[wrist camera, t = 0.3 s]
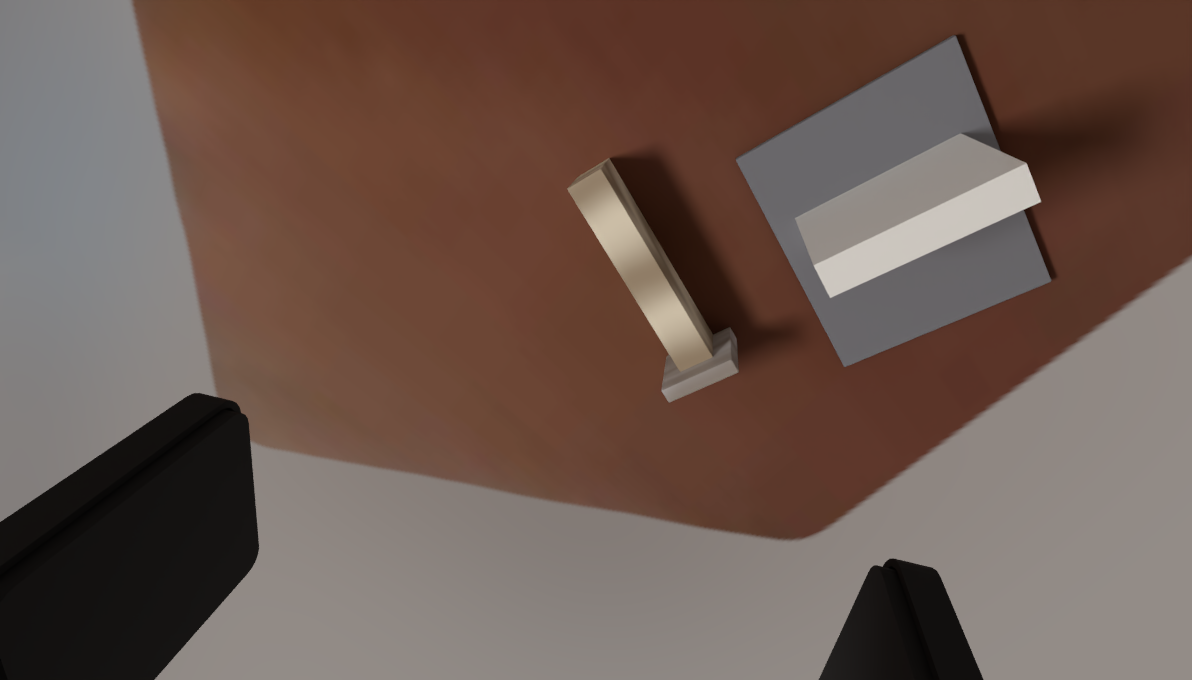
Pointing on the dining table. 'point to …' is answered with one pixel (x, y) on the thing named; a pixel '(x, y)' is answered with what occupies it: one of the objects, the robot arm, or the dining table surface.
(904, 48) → the dining table surface
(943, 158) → the tile
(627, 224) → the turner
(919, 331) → the mat
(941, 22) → the dining table surface
